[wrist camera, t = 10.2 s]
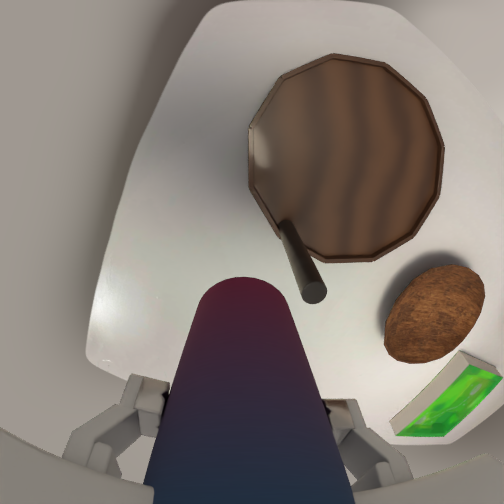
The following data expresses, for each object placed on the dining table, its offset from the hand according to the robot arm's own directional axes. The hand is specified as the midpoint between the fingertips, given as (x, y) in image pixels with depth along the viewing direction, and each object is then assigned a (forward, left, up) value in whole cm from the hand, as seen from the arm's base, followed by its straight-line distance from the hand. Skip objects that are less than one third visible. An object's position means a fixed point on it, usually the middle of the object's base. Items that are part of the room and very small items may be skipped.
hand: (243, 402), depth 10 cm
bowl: (+30, +21, -30) cm, 47 cm away
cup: (0, 0, -6) cm, 6 cm away
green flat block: (+67, +25, -30) cm, 77 cm away
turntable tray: (+1, +15, -28) cm, 32 cm away
